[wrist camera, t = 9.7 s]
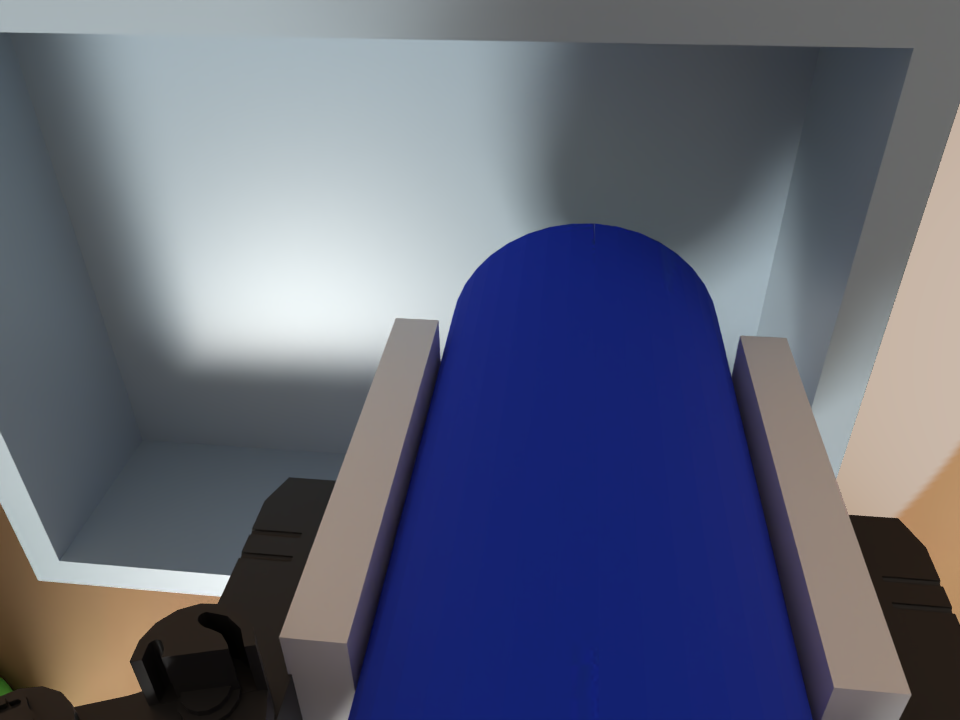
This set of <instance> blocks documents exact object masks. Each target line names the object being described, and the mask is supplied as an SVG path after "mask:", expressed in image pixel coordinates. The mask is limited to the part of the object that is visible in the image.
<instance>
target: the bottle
mask: <svg viewBox="0 0 960 720" xmlns="http://www.w3.org/2000/svg"><path fill="white" fill-rule="evenodd" d="M12 691H13V690H12V689H11V688H10V686H9V685H8V684H7V683H6V682H5V680H3V679H2V678H1V677H0V696H2V695H5V694H7V693H10V692H12Z"/></svg>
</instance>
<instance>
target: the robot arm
mask: <svg viewBox="0 0 960 720" xmlns="http://www.w3.org/2000/svg"><path fill="white" fill-rule="evenodd" d="M440 363H441V360H440V339H439V320H425V319H406V318H396V319H395V321H394V324H393V327H392V330H391V332H390V335H389V338H388V341H387V343H386V346H385V349H384V352H383V354H382V357H381V360H380V362H379V365H378V368H377V371H376V373H375V376H374V379H373V382H372V384H371V387H370V390H369V393H368V395H367V398H366V401H365V403H364V406H363V409H362V412H361V414H360V417H359V420H358V423H357V425H356V428H355V431H354V434H353V436H352V439H351V442H350V445H349V447H348V450H347V453H346V455H345V458H344V461H343V464H342V466H341V469H340V472H339V475H338V477H337V480H336V481H335V480H321V479H307V478H293V477H289V478H288V479H287V480H286V481H285V482H284V483H283V484H282V485H281V486H279V487H278V488H277V489H276V490H275V491H274V492H273V493H272V494H271V495H270V496H269V497H268V498H267V499H266V500H265V501H264V503H263V505H262V508H261V510H260V512H259V514H258V516H257V519H256V521H255V523H254V525H253V527H252V533H251V535H250V534H249V536H248V538H247V541H246V543H245V545H244V547H243V549H242V552H241V558H238V560H237V563H236V565H235V567H234V569H233V571H232V573H231V576H230V578H229V580H228V582H227V584H226V587H225V589H224V591H223V593H222V595H221V598H220V600H219V602H218V604H198V605H194V606H190V607H187V608H183V609H180V610H177V611H175V612H174V613H172V614H170V615H169V616H167V617H165V618H163V619H162V620H160V621H158V622H157V623H155V625H154V626H153V627H152V628H151V629H150V630H149V631H148V632H147V633H146V634H145V635H144V636H143V637H142V638H141V639H140V640H139V642H138V644H137V647H136V649H135V651H134V653H133V655H132V658H131V660H130V663H131V666H132V668H133V670H134V673H135V675H136V677H137V680H138V682H139V684H140V687H141V689H142V692H139V693H136V694H132V695H129V696H125V697H120V698H115V699H111V700H106V701H101V702H96V703H92V704H87V705H82V706H77V707H73V705H72V704H71V703H70V702H69V700H68V699H67V698H66V697H65V696H64V695H63V694H62V693H61V692H59V691H56V690H53V689H49V688H46V687H43V686H41V687H31V688H21V689H17V690H15V691H12V692H10V693H7V694H5V695H2V696H0V720H348V717H349V714H350V710H351V706H352V702H353V698H354V694H355V691H356V687H357V683H358V679H359V675H360V671H361V667H362V664H363V660H364V656H365V652H366V648H367V644H368V641H369V637H370V633H371V629H372V625H373V621H374V617H375V614H376V610H377V606H378V602H379V598H380V594H381V590H382V587H383V583H384V579H385V575H386V571H387V567H388V564H389V560H390V556H391V552H392V548H393V544H394V540H395V537H396V533H397V529H398V525H399V521H400V517H401V513H402V510H403V506H404V502H405V498H406V494H407V490H408V487H409V483H410V479H411V475H412V471H413V467H414V463H415V460H416V456H417V452H418V448H419V444H420V440H421V436H422V433H423V429H424V425H425V421H426V417H427V413H428V410H429V406H430V402H431V398H432V394H433V390H434V386H435V383H436V379H437V375H438V371H439V367H440ZM732 381H733V385H734V389H735V393H736V398H737V402H738V406H739V410H740V415H741V419H742V423H743V427H744V431H745V436H746V440H747V444H748V448H749V452H750V457H751V461H752V465H753V469H754V473H755V478H756V482H757V486H758V490H759V494H760V499H761V503H762V507H763V511H764V515H765V520H766V524H767V528H768V532H769V536H770V541H771V545H772V549H773V553H774V558H775V562H776V566H777V570H778V574H779V579H780V583H781V587H782V591H783V595H784V600H785V604H786V608H787V612H788V616H789V621H790V625H791V629H792V633H793V637H794V642H795V646H796V650H797V654H798V658H799V663H800V667H801V671H802V675H803V679H804V684H805V688H806V692H807V696H808V701H809V705H810V709H811V713H812V717H813V720H960V624H959V622H958V620H957V617H956V615H955V614H952V606H951V604H950V601H949V599H948V597H947V594H946V592H945V590H944V588H943V587H941V586H940V578H939V576H938V574H937V572H936V569H935V567H934V565H933V562H932V560H931V558H930V556H929V553H928V551H927V549H926V547H925V546H924V545H923V544H922V543H921V542H920V541H919V540H918V539H917V538H916V537H915V536H914V535H913V533H912V532H911V531H910V530H909V529H908V528H907V527H906V526H905V525H904V524H903V523H902V522H901V521H900V520H899V519H898V518H885V517H871V516H857V515H848V512H847V509H846V506H845V504H844V501H843V498H842V495H841V492H840V489H839V486H838V483H837V481H836V478H835V475H834V472H833V469H832V466H831V463H830V461H829V458H828V455H827V452H826V449H825V446H824V443H823V441H822V438H821V435H820V432H819V429H818V426H817V423H816V421H815V418H814V415H813V412H812V409H811V406H810V403H809V401H808V398H807V395H806V392H805V389H804V386H803V383H802V381H801V378H800V375H799V372H798V369H797V366H796V363H795V361H794V358H793V355H792V352H791V349H790V346H789V344H788V341H787V338H779V337H760V336H740V338H739V343H738V348H737V352H736V357H735V362H734V367H733V372H732Z"/></svg>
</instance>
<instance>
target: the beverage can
mask: <svg viewBox="0 0 960 720" xmlns="http://www.w3.org/2000/svg"><path fill="white" fill-rule="evenodd" d="M348 720H813V717H812V713H811V709H810V705H809V701H808V696H807V692H806V688H805V684H804V679H803V675H802V671H801V667H800V663H799V658H798V654H797V650H796V646H795V642H794V637H793V633H792V629H791V625H790V621H789V616H788V612H787V608H786V604H785V600H784V595H783V591H782V587H781V583H780V579H779V574H778V570H777V566H776V562H775V558H774V553H773V549H772V545H771V541H770V536H769V532H768V528H767V524H766V520H765V515H764V511H763V507H762V503H761V499H760V494H759V490H758V486H757V482H756V478H755V473H754V469H753V465H752V461H751V457H750V452H749V448H748V444H747V440H746V436H745V431H744V427H743V423H742V419H741V415H740V410H739V406H738V402H737V398H736V393H735V389H734V385H733V381H732V377H731V372H730V368H729V364H728V360H727V356H726V351H725V347H724V343H723V339H722V335H721V330H720V326H719V322H718V318H717V314H716V311H715V307H714V303H713V300H712V298H711V296H710V294H709V292H708V290H707V288H706V286H705V284H704V283H703V281H702V280H701V279H700V277H699V276H698V275H697V273H696V272H695V271H694V269H693V268H692V267H691V266H690V265H689V264H688V263H687V262H686V261H685V260H684V259H682V258H681V257H680V256H679V255H678V254H677V253H675V252H674V251H672V250H671V249H669V248H668V247H666V246H665V245H663V244H662V243H660V242H659V241H656V240H654V239H652V238H650V237H648V236H645V235H643V234H641V233H639V232H635V231H632V230H628V229H625V228H621V227H618V226H610V225H603V224H595V223H588V224H566V225H560V226H553V227H548V228H545V229H541V230H538V231H535V232H532V233H528V234H526V235H524V236H522V237H520V238H518V239H516V240H514V241H511V242H509V243H508V244H506V245H505V246H503V247H502V248H500V249H499V250H497V251H496V252H494V253H493V254H492V255H490V256H489V257H488V258H487V259H486V260H485V261H484V262H483V263H482V264H481V265H480V266H479V267H478V268H477V269H476V270H475V272H474V273H473V274H472V276H471V277H470V278H469V280H468V281H467V282H466V284H465V286H464V288H463V290H462V292H461V294H460V296H459V298H458V300H457V303H456V306H455V310H454V313H453V317H452V321H451V325H450V329H449V332H448V336H447V340H446V344H445V348H444V352H443V356H442V359H441V363H440V367H439V371H438V375H437V379H436V383H435V386H434V390H433V394H432V398H431V402H430V406H429V410H428V413H427V417H426V421H425V425H424V429H423V433H422V436H421V440H420V444H419V448H418V452H417V456H416V460H415V463H414V467H413V471H412V475H411V479H410V483H409V487H408V490H407V494H406V498H405V502H404V506H403V510H402V513H401V517H400V521H399V525H398V529H397V533H396V537H395V540H394V544H393V548H392V552H391V556H390V560H389V564H388V567H387V571H386V575H385V579H384V583H383V587H382V590H381V594H380V598H379V602H378V606H377V610H376V614H375V617H374V621H373V625H372V629H371V633H370V637H369V641H368V644H367V648H366V652H365V656H364V660H363V664H362V667H361V671H360V675H359V679H358V683H357V687H356V691H355V694H354V698H353V702H352V706H351V710H350V714H349V717H348Z"/></svg>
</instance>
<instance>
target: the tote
mask: <svg viewBox="0 0 960 720" xmlns="http://www.w3.org/2000/svg"><path fill="white" fill-rule="evenodd" d="M959 104H960V0H0V503H1V505H2V507H3V509H4V511H5V513H6V515H7V517H8V519H9V521H10V523H11V526H12V528H13V530H14V532H15V534H16V536H17V538H18V540H19V542H20V544H21V546H22V548H23V550H24V552H25V554H26V556H27V558H28V560H29V562H30V565H31V567H32V569H33V571H34V573H35V575H36V577H37V579H38V581H49V582H60V583H72V584H83V585H94V586H106V587H117V588H128V589H140V590H151V591H163V592H174V593H185V594H197V595H208V596H220V597H221V595H222V593H223V591H224V589H225V587H226V584H227V582H228V580H229V578H230V576H231V573H232V571H233V569H234V567H235V565H236V563H237V560H238V558H241V552H242V549H243V547H244V545H245V543H246V541H247V538H248V536H249V534H250V535H251V533H252V527H253V525H254V523H255V521H256V519H257V516H258V514H259V512H260V510H261V508H262V505H263V503H264V501H265V500H266V499H267V498H268V497H269V496H270V495H271V494H272V493H273V492H274V491H275V490H276V489H277V488H278V487H279V486H281V485H282V484H283V483H284V482H285V481H286V480H287V479H288V478H289V477H293V478H307V479H321V480H335V481H336V480H337V477H338V475H339V472H340V469H341V466H342V464H343V461H344V458H345V455H346V453H347V450H348V447H349V445H350V442H351V439H352V436H353V434H354V431H355V428H356V425H357V423H358V420H359V417H360V414H361V412H362V409H363V406H364V403H365V401H366V398H367V395H368V393H369V390H370V387H371V384H372V382H373V379H374V376H375V373H376V371H377V368H378V365H379V362H380V360H381V357H382V354H383V352H384V349H385V346H386V343H387V341H388V338H389V335H390V332H391V330H392V327H393V324H394V321H395V319H396V318H406V319H425V320H439V339H440V360H441V359H442V356H443V352H444V348H445V344H446V340H447V336H448V332H449V329H450V325H451V321H452V317H453V313H454V310H455V306H456V303H457V300H458V298H459V296H460V294H461V292H462V290H463V288H464V286H465V284H466V282H467V281H468V280H469V278H470V277H471V276H472V274H473V273H474V272H475V270H476V269H477V268H478V267H479V266H480V265H481V264H482V263H483V262H484V261H485V260H486V259H487V258H488V257H489V256H490V255H492V254H493V253H494V252H496V251H497V250H499V249H500V248H502V247H503V246H505V245H506V244H508V243H509V242H511V241H514V240H516V239H518V238H520V237H522V236H524V235H526V234H528V233H532V232H535V231H538V230H541V229H545V228H548V227H553V226H560V225H566V224H588V223H595V224H603V225H610V226H618V227H621V228H625V229H628V230H632V231H635V232H639V233H641V234H643V235H645V236H648V237H650V238H652V239H654V240H656V241H659V242H660V243H662V244H663V245H665V246H666V247H668V248H669V249H671V250H672V251H674V252H675V253H677V254H678V255H679V256H680V257H681V258H682V259H684V260H685V261H686V262H687V263H688V264H689V265H690V266H691V267H692V268H693V269H694V271H695V272H696V273H697V275H698V276H699V277H700V279H701V280H702V281H703V283H704V284H705V286H706V288H707V290H708V292H709V294H710V296H711V298H712V300H713V303H714V307H715V311H716V314H717V318H718V322H719V326H720V330H721V335H722V339H723V343H724V347H725V351H726V356H727V360H728V364H729V368H730V372H731V377H732V372H733V367H734V362H735V357H736V352H737V348H738V343H739V338H740V336H760V337H779V338H787V341H788V344H789V346H790V349H791V352H792V355H793V358H794V361H795V363H796V366H797V369H798V372H799V375H800V378H801V381H802V383H803V386H804V389H805V392H806V395H807V398H808V401H809V403H810V406H811V409H812V412H813V415H814V418H815V421H816V423H817V426H818V429H819V432H820V435H821V438H822V441H823V443H824V446H825V449H826V452H827V455H828V458H829V461H830V463H831V466H832V469H833V472H834V475H835V478H837V475H838V472H839V469H840V466H841V463H842V460H843V457H844V454H845V451H846V448H847V445H848V442H849V438H850V436H851V432H852V429H853V426H854V423H855V420H856V417H857V414H858V411H859V408H860V405H861V402H862V399H863V396H864V393H865V390H866V387H867V384H868V381H869V378H870V374H871V372H872V369H873V366H874V362H875V359H876V356H877V353H878V350H879V347H880V344H881V341H882V338H883V335H884V332H885V329H886V326H887V323H888V320H889V317H890V314H891V311H892V308H893V305H894V301H895V298H896V295H897V292H898V289H899V286H900V283H901V280H902V277H903V274H904V271H905V268H906V265H907V262H908V259H909V256H910V252H911V250H912V246H913V244H914V241H915V238H916V234H917V231H918V228H919V225H920V222H921V219H922V216H923V213H924V210H925V207H926V204H927V201H928V198H929V195H930V192H931V189H932V186H933V183H934V180H935V177H936V173H937V171H938V168H939V164H940V161H941V158H942V155H943V152H944V149H945V146H946V143H947V140H948V137H949V134H950V131H951V128H952V124H953V122H954V119H955V116H956V113H957V109H958V107H959Z"/></svg>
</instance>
